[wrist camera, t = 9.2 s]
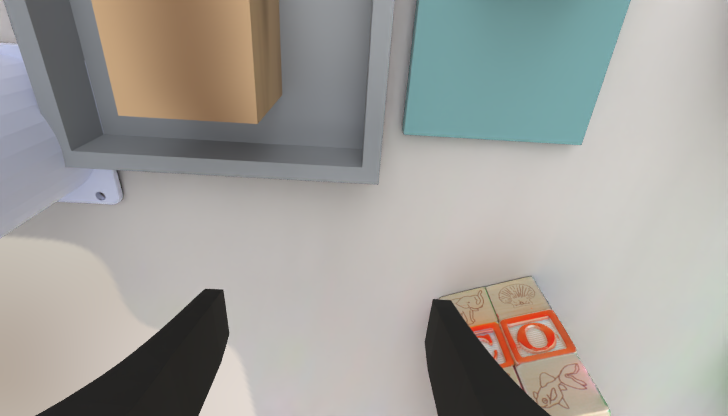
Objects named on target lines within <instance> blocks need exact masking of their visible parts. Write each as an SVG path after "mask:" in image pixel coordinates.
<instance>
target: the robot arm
mask: <svg viewBox="0 0 728 416" xmlns="http://www.w3.org/2000/svg"><path fill="white" fill-rule="evenodd" d="M84 62H85V60H84ZM85 65H86V63H85ZM86 69H87V67H86ZM87 73H88V70H87ZM88 77H89V74H88ZM89 81H90V78H89ZM90 85H91V82H90ZM91 88H92V86H91ZM92 92H93V90H92ZM93 96H94V93H93ZM94 100H95V97H94ZM95 104H96V101H95ZM96 108H97V105H96ZM97 111H98V109H97ZM98 115H99V113H98ZM99 119H100V117H99ZM100 123H101V120H100ZM101 127H102V124H101ZM102 131H103V128H102ZM103 134H104V132H103ZM100 192H102V193H103V194H104V195H105V196H106V197H103V196H102V195H101V194H100ZM122 198H123V193H122V189H121V186H120V182H119V178H118V174H117V170H106V169H88V168H70V167H65V162H64V158H63V153H62V149H61V147H60V145H59V142H58V140H57V138H56V135H55V134H54V132H53V131H52V129H51V127H50V126H49V124H48V123H47V121H46V120H45V118H44V117H43V116H42V115H41V113H40V110H39V107H38V104H37V101H36V98H35V95H34V92H33V89H32V86H31V83H30V80H29V77H28V74H27V71H26V68H25V64H24V61H23V58H22V55H21V52H20V49H19V46H18V44H15V43H0V238H2V237H3V236H5V235H6V234H8V233H9V232H11V231H12V230H14V229H15V228H17V227H19V226H20V225H22V224H23V223H25V222H26V221H28V220H29V219H31V218H32V217H34V216H35V215H37V214H38V213H40V212H41V211H43V210H44V209H46V208H47V207H49V206H50V205H52V204H53V203H55V202H74V203H93V204H112V205H113V204H117V203H119V202H120V201H121V200H122ZM228 337H229V328H228V320H227V313H226V306H225V299H224V291H223V290H219V289H205V290H203V291H202V292H201V293H200V294H199V295H198V296H197V297H196V298H195V299H193V300H192V301H191V302H190V303H189V304H188V305H187V306H186V307H185V308H184V309H183V310H182V311H181V312H180V313H178V314H177V315H176V316H175V317H174V318H173V319H172V320H171V321H170V322H169V323H167V324H166V325H165V326H164V327H163V328H162V329H161V330H160V331H159V332H157V333H156V334H155V335H154V336H153V337H151V338H150V339H149V340H148V341H147V342H146V343H144V344H143V345H142V346H140V347H139V348H138V349H137V350H136V351H134V352H133V353H132V354H131V355H129V356H128V357H127V358H125V359H124V360H123V361H122V362H120V363H119V364H117V365H116V366H115V367H113V368H112V369H110V370H109V371H107V372H106V373H105V374H103V375H102V376H100V377H99V378H97V379H96V380H94V381H93V382H91V383H89V384H88V385H86V386H85V387H83V388H81V389H80V390H78V391H77V392H75V393H74V394H72V395H70V396H69V397H67V398H66V399H64V400H62V401H61V402H59V403H57V404H55V405H54V406H52V407H50V408H48V409H47V410H45V411H43V412H41V413H39V414H38V415H36V416H198V415H199V413H200V411H201V408H202V406H203V404H204V401H205V399H206V397H207V394H208V392H209V390H210V387H211V385H212V383H213V380H214V378H215V376H216V373H217V371H218V369H219V366H220V364H221V361H222V357H223V354H224V351H225V348H226V344H227V340H228ZM425 349H426V358H427V367H428V373H429V378H430V382H431V386H432V391H433V395H434V400H435V404H436V408H437V413H438V416H551V415H550V414H549V413H548V412H546V411H545V410H544V409H543V408H542V407H541V406H539V405H538V404H537V403H536V402H535V401H534V400H533V399H532V398H531V397H530V396H529V395H528V394H527V393H526V392H525V391H524V390H523V389H522V388H521V387H520V386H519V385H518V384H517V383H516V382H515V381H514V380H513V379H512V378H511V377H510V376H509V375H508V374H507V373H506V372H505V371H504V369H503V368H502V367H501V366H500V365H499V364H498V362H497V361H496V360H495V359H494V358H493V357H492V355H491V354H490V353H489V352H488V350H487V349H486V348H485V347H484V345H483V344H482V343H481V341H480V340H479V339H478V338H477V336H476V335H475V334H474V332H473V331H472V330H471V328H470V327H469V325H468V324H467V323H466V321H465V320H464V318H463V317H462V316H461V314H460V313H459V311H458V310H457V308H456V307H455V305H454V304H453V303H452V301H451V300H438V299H433V301H432V307H431V312H430V317H429V322H428V328H427V333H426V338H425Z"/></svg>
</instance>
